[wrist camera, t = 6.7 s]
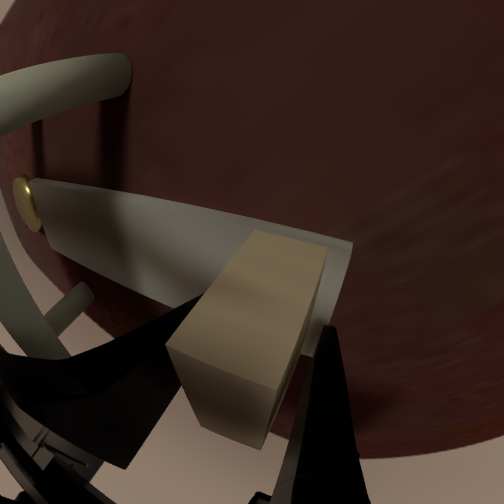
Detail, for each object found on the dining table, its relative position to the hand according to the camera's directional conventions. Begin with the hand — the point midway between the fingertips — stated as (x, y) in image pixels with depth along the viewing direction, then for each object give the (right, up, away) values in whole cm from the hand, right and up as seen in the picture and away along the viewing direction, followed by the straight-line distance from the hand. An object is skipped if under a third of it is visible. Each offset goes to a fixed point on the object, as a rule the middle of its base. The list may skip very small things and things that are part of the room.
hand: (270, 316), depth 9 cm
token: (-19, +7, +8) cm, 22 cm away
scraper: (-7, +3, +5) cm, 9 cm away
